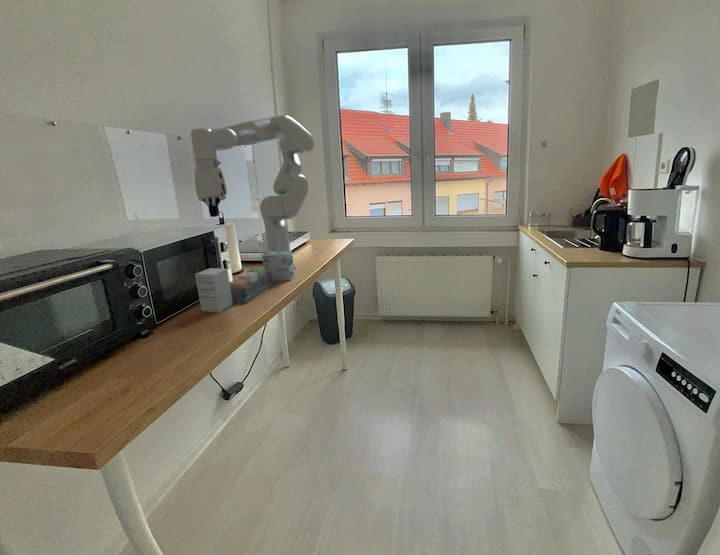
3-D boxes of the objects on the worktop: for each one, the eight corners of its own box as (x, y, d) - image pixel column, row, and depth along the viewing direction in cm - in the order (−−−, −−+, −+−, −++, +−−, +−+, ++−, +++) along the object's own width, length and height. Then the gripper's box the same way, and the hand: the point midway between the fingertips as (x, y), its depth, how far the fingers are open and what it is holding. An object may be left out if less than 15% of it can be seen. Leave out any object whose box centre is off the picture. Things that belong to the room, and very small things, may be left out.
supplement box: (215, 303, 144) (209, 267, 141) (233, 305, 141) (228, 268, 138) (200, 311, 137) (194, 273, 134) (219, 312, 135) (213, 274, 131)
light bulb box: (295, 276, 173) (292, 250, 170) (291, 280, 167) (288, 253, 164) (269, 277, 174) (266, 251, 171) (264, 281, 168) (261, 255, 165)
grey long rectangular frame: (252, 282, 167) (251, 271, 166) (276, 283, 165) (274, 271, 163) (220, 303, 144) (218, 290, 143) (246, 303, 142) (245, 290, 141)
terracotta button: (237, 290, 151) (235, 279, 149) (250, 290, 149) (248, 279, 148) (229, 295, 146) (228, 283, 145) (243, 295, 145) (241, 284, 144)
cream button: (245, 282, 157) (244, 272, 156) (258, 282, 155) (257, 272, 154) (239, 286, 152) (237, 275, 151) (252, 286, 151) (250, 275, 150)
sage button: (254, 277, 163) (253, 267, 162) (266, 277, 162) (265, 267, 161) (248, 281, 158) (246, 270, 157) (260, 281, 157) (259, 270, 156)
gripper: (231, 163, 154) (238, 214, 159) (194, 166, 158) (202, 215, 162) (220, 164, 147) (227, 217, 152) (182, 166, 150) (190, 218, 155)
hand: (214, 216), depth 157 cm, fingers closed
